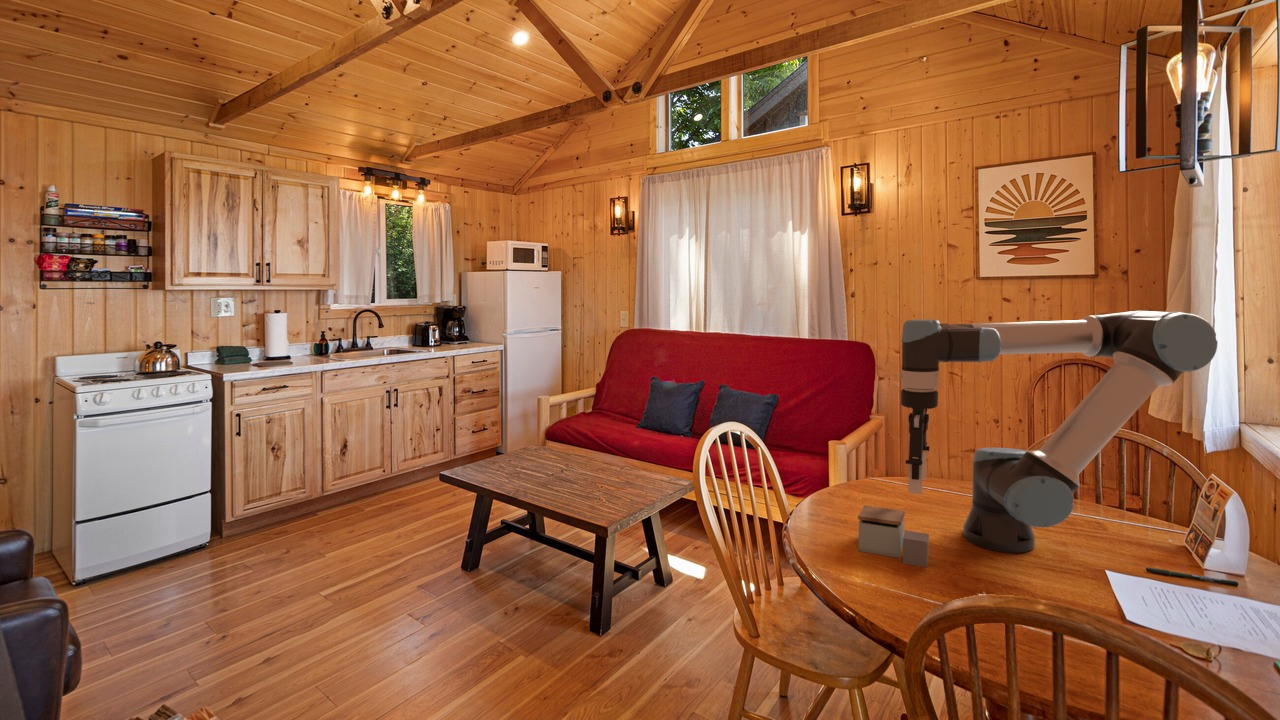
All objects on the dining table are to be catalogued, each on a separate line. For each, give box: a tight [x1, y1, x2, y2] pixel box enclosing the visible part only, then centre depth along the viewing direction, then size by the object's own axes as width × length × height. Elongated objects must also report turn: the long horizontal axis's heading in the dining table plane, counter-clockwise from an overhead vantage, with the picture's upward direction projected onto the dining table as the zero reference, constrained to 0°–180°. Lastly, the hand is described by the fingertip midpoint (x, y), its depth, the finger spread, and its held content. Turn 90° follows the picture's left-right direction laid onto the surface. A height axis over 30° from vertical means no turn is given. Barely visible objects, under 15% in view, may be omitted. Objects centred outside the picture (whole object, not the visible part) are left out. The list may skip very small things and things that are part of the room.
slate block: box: [902, 529, 930, 568], centre depth 139 cm, size 5×5×6 cm
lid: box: [857, 505, 906, 525], centre depth 147 cm, size 9×10×1 cm
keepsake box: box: [857, 517, 905, 559], centre depth 147 cm, size 9×10×7 cm
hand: (917, 485), depth 137 cm, fingers open, 10 cm apart
